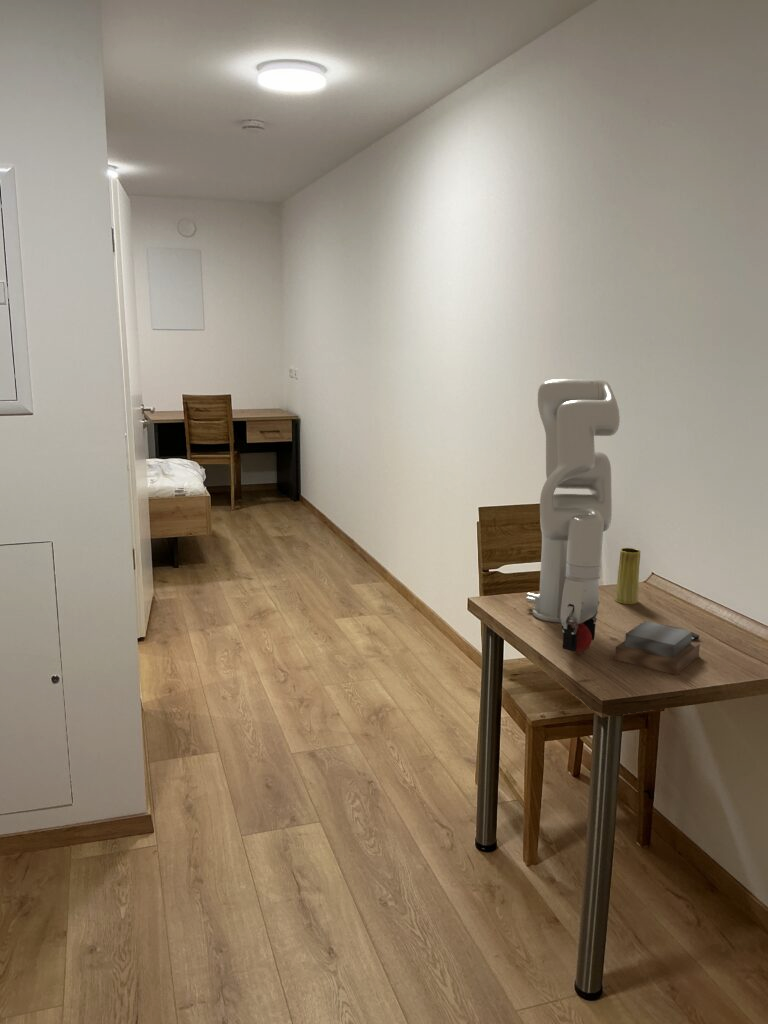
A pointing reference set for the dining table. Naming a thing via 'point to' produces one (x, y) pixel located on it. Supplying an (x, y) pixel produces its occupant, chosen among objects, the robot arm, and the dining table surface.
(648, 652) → the wood and metal stack
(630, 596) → the vase
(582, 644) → the onion
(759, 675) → the dining table surface
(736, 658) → the dining table surface
